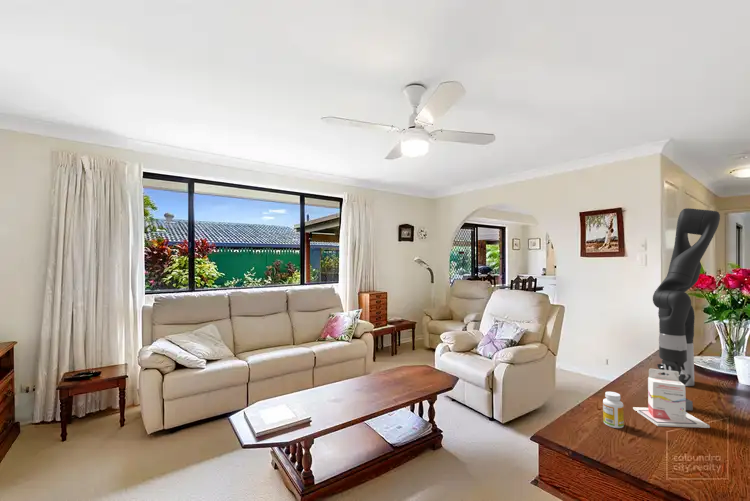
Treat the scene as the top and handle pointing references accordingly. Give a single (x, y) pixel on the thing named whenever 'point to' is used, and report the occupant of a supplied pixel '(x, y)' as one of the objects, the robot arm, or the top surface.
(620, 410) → the supplement bottle
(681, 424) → the sheet
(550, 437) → the top surface
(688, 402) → the button housing
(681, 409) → the ink cartridge box
